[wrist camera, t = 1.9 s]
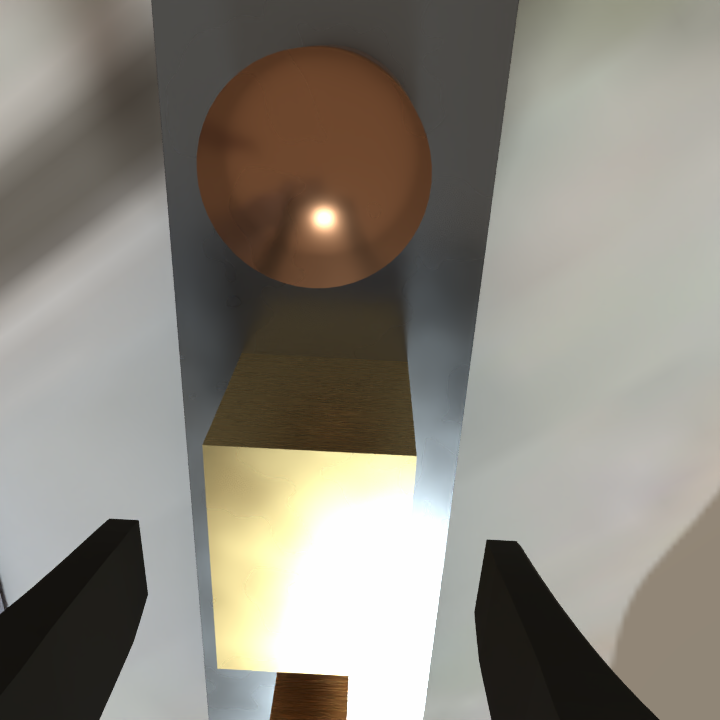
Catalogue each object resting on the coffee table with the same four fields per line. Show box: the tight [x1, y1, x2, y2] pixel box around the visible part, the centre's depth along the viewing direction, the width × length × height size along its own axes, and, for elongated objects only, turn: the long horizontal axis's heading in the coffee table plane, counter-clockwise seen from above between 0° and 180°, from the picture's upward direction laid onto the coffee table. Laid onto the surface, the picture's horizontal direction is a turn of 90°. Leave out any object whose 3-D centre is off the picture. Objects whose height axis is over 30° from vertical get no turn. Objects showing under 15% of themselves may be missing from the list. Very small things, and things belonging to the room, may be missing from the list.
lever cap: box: [202, 353, 417, 678], centre depth 15 cm, size 4×6×4 cm, turn 177°
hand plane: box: [151, 0, 519, 720], centre depth 16 cm, size 7×24×7 cm, turn 177°
